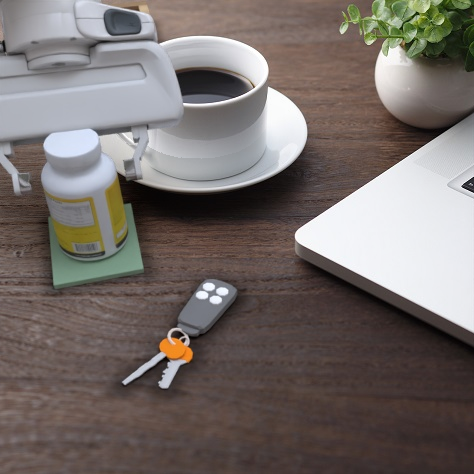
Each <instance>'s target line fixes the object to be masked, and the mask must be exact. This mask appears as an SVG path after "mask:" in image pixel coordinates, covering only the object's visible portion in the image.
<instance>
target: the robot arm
mask: <svg viewBox="0 0 474 474" xmlns="http://www.w3.org/2000/svg"><path fill="white" fill-rule="evenodd" d="M150 15H151V14H150ZM150 15H149V14H147V13H144V12H139V11H134V10H129V9H124V8H119V7H115V6H110V4H106V3H103V0H0V23H1V29H2V36H3V40H0V165H1V166H2V167H3V168H4V170H5V171H6V172H7V173H8V174H9V175H10V176H11V180H12V186H13V187H12V189H13V192H14V195H15V196H16V197H23V196H30V195H35V194H36V193H35V192H36V191H35V186H34V185H33V183H34V181H33V180H34V179H33V174H32V173H30V172H29V171H28V172H20V171H19V170H18V169H17V167H16V166H15V165H14V164H13V163H12V161H11V160H14V159H15V158H16V151H15V147H20V146H21V147H22V146H28V145H37V144H44V141H45V139H46V138H47V137H48V136H49V135H50V134H52V133H58V132H67V131H75V130H82V129H91V130H93V131H95V132H96V133H97V134H98V136H99V137H101V136H110V135H111V136H112V135H118V134H126V133H131V135H132V140H133V143H134V144H137V145H136V147H135V150H134V153H133V155H132V157H131V158H128V159H127V158H126V159H122V162H123V168H124V175H125V180H126V182H133V181H140V180H143V177H144V176H143V171H142V165H141V161H142V160H143V158H144V155H145V153H146V150H147V148H148V146H149V142H150V137H149V132H148V131H151V130H152V131H153V130H159V129H167V128H175V127H178V125H179V124H180V123H181V122H182V120H183V118H184V116H185V106H184V100H183V95H182V92H181V88H180V84H179V80H178V77H177V74H176V71H175V68H174V65H173V62H172V60H171V57H170V55H169V54H168V52H167V50H166V49H165V48H164V46H162V45H161V44H158V43H159V42H158V43H157V38H158V30H157V26H156V22H155V20H154V19H153V16H152V15H151V16H150Z"/></svg>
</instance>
